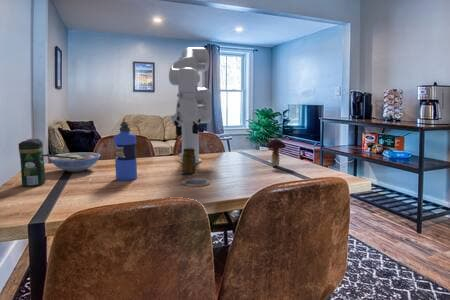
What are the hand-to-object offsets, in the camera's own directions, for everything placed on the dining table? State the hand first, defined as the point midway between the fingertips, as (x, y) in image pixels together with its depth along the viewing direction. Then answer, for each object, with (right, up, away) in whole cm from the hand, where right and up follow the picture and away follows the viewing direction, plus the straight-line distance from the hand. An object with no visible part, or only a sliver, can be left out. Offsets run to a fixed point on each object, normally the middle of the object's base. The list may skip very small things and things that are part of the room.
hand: (187, 134), depth 148 cm
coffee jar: (-61, -21, -15) cm, 67 cm away
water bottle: (-27, -20, -4) cm, 33 cm away
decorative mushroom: (+44, -16, +26) cm, 54 cm away
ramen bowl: (-56, -17, +12) cm, 60 cm away
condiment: (0, -19, +7) cm, 20 cm away
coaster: (+5, -21, -11) cm, 24 cm away
